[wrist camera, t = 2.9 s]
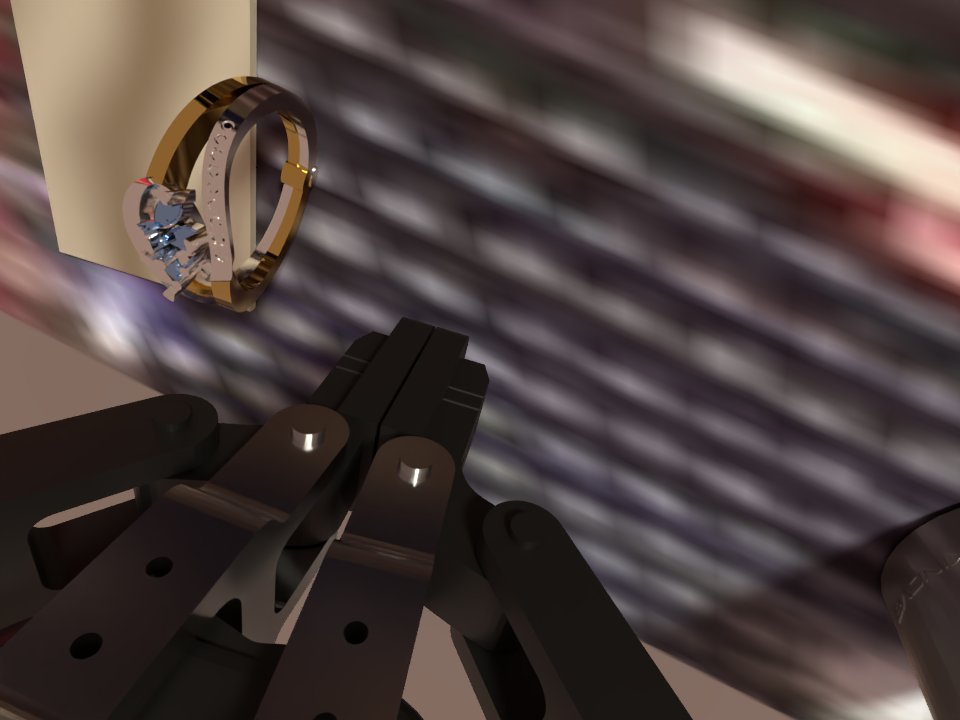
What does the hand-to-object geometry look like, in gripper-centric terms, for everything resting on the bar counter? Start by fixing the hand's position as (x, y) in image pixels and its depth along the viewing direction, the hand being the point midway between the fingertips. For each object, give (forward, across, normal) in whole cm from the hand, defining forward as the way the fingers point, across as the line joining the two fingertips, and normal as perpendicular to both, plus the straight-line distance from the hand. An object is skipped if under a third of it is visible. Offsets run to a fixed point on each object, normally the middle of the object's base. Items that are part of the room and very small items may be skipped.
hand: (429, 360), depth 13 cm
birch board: (+10, +14, 0) cm, 17 cm away
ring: (+10, +8, 0) cm, 12 cm away
